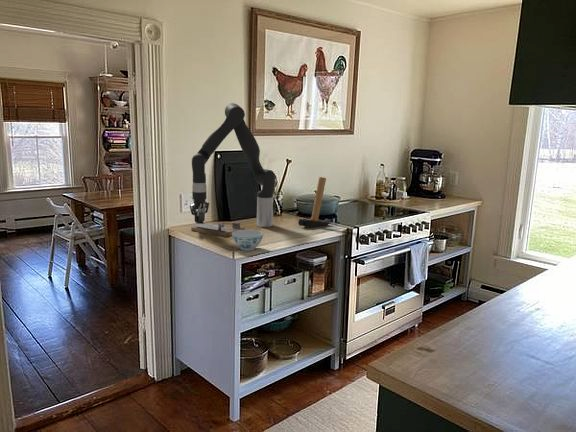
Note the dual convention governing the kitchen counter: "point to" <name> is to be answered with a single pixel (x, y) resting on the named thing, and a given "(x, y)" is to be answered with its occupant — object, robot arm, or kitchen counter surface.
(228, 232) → the press base
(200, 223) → the lever
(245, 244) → the chinaware
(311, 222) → the hammer
